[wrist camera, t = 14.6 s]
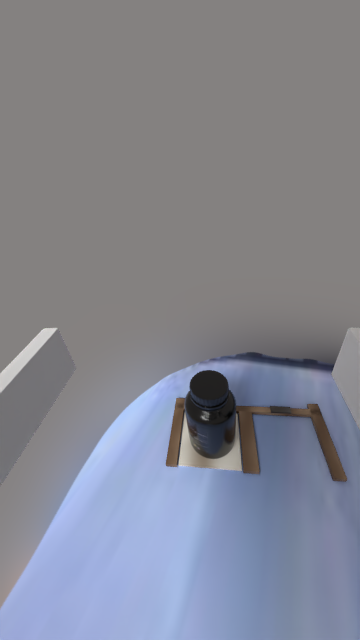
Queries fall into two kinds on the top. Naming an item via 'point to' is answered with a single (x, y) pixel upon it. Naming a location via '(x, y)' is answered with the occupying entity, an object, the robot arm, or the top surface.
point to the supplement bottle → (211, 415)
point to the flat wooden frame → (246, 441)
